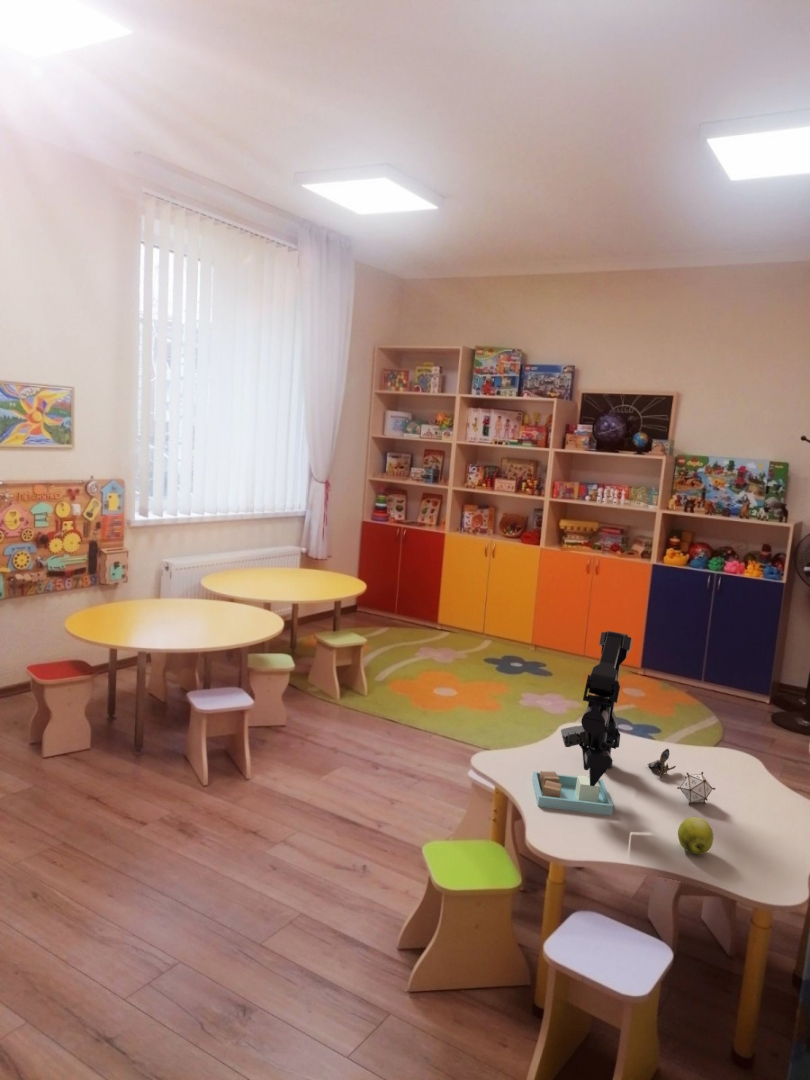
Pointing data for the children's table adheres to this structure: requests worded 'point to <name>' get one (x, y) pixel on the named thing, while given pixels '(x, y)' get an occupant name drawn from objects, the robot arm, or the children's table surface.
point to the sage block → (586, 790)
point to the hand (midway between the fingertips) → (588, 777)
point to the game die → (696, 788)
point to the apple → (695, 835)
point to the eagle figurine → (662, 763)
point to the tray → (572, 797)
